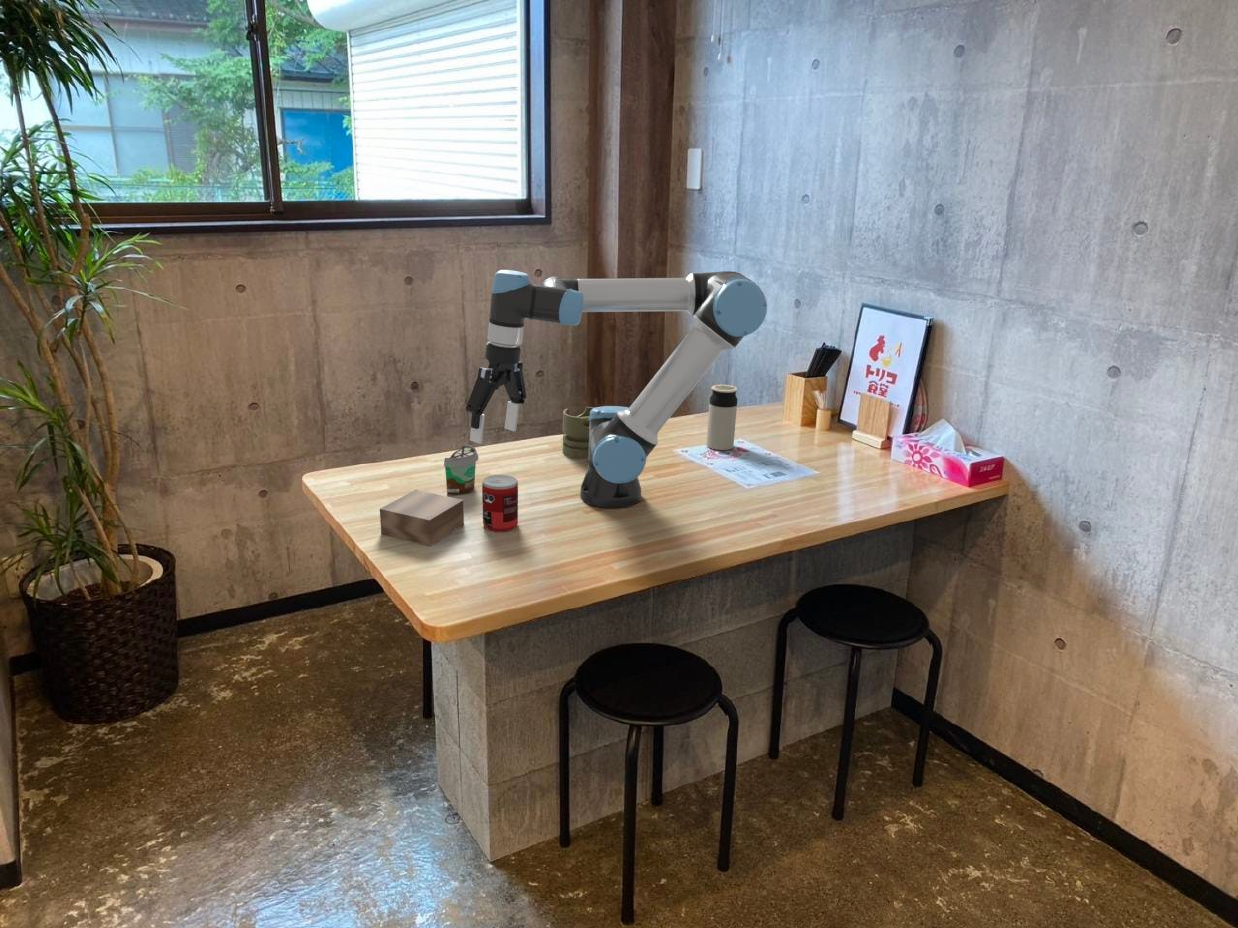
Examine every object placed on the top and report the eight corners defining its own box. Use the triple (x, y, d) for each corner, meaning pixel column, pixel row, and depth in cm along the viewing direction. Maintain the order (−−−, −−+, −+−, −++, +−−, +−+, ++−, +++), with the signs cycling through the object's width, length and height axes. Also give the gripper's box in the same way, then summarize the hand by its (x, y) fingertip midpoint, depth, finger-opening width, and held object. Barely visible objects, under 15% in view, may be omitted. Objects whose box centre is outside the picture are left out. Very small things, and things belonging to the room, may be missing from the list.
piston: (610, 416, 244) (572, 419, 240) (608, 456, 248) (571, 461, 244) (593, 405, 254) (557, 408, 249) (592, 444, 258) (556, 448, 253)
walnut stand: (463, 524, 201) (463, 500, 199) (430, 545, 190) (429, 520, 187) (416, 513, 206) (415, 489, 204) (381, 533, 194) (379, 508, 192)
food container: (468, 499, 215) (467, 461, 211) (444, 496, 216) (443, 458, 212) (486, 482, 226) (485, 445, 223) (463, 479, 227) (462, 443, 224)
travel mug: (734, 451, 257) (739, 391, 251) (707, 450, 257) (712, 390, 251) (731, 443, 264) (736, 384, 258) (705, 441, 264) (709, 383, 258)
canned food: (483, 518, 204) (483, 474, 201) (518, 518, 205) (518, 474, 201) (481, 532, 197) (480, 486, 193) (517, 532, 198) (517, 486, 194)
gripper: (520, 333, 203) (510, 420, 210) (455, 345, 182) (445, 442, 189) (548, 341, 200) (536, 429, 207) (485, 354, 179) (474, 452, 186)
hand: (493, 435), depth 198 cm, fingers open, 13 cm apart
